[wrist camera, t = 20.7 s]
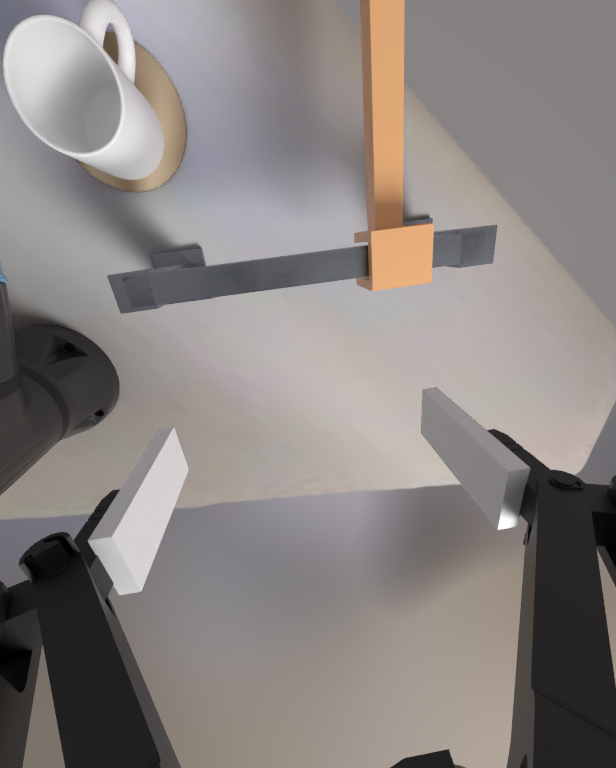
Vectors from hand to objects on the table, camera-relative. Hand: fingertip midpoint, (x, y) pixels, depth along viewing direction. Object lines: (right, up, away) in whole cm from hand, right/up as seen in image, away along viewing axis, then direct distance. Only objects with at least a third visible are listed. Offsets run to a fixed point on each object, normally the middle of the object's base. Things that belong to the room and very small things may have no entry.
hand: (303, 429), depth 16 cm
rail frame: (-1, +18, +23) cm, 30 cm away
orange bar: (+6, +23, +10) cm, 26 cm away
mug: (-18, +30, +16) cm, 39 cm away
